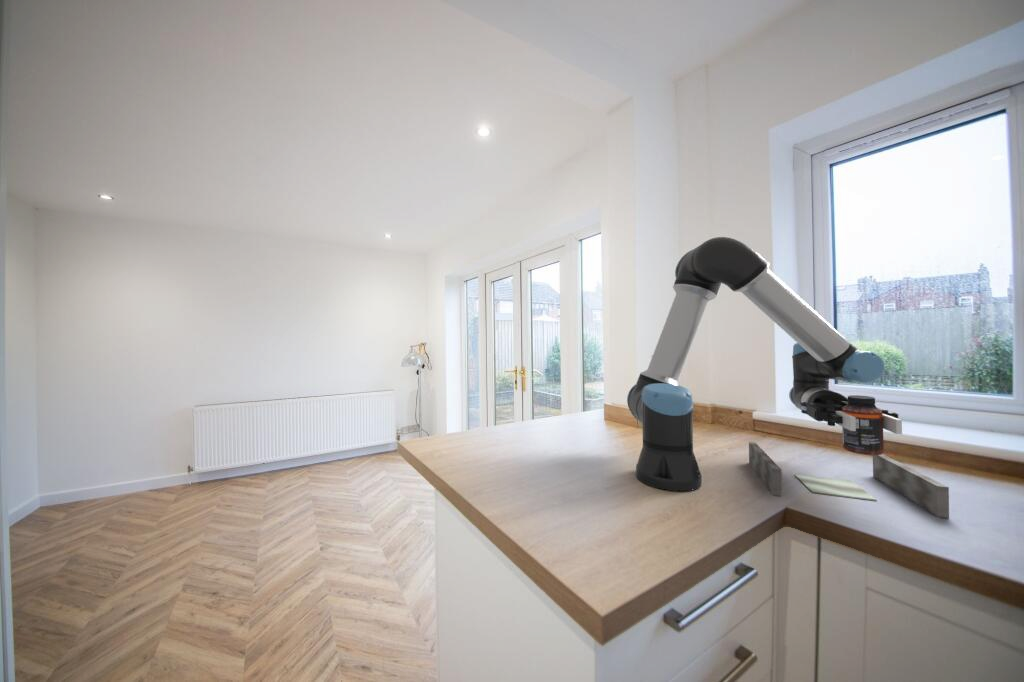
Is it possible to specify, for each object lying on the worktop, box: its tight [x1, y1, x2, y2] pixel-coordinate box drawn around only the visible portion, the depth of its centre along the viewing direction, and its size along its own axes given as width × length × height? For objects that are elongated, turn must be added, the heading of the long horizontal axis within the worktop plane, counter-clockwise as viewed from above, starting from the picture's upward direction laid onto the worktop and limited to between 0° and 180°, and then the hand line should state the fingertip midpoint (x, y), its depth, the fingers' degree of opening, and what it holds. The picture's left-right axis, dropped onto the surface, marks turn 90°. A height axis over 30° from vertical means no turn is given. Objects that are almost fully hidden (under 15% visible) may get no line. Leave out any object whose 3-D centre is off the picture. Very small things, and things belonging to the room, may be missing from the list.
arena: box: [748, 441, 950, 519], centre depth 83 cm, size 22×28×6 cm
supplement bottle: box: [841, 394, 885, 456], centre depth 71 cm, size 6×6×11 cm
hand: (875, 425), depth 66 cm, fingers closed on supplement bottle, 6 cm apart
